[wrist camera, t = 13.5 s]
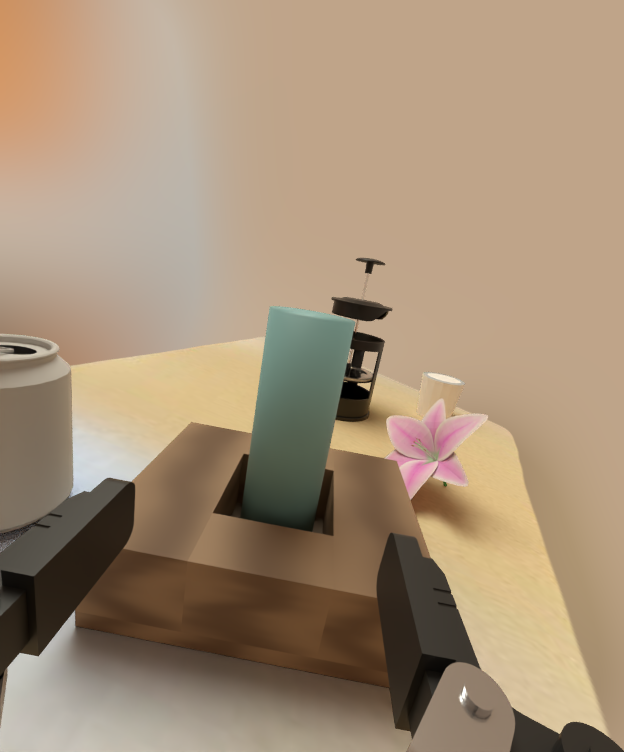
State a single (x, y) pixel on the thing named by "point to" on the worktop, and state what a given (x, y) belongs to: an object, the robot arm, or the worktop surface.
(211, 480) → the well block
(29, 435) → the can
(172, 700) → the worktop surface
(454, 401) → the white cylinder
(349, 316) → the french press
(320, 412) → the peg
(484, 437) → the worktop surface
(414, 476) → the lily
